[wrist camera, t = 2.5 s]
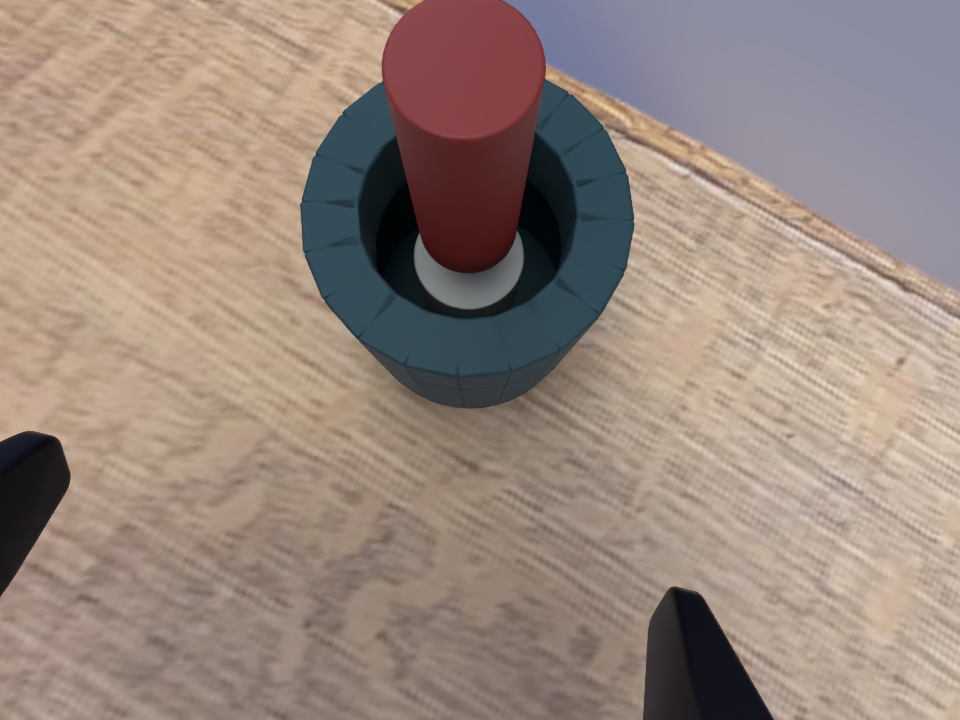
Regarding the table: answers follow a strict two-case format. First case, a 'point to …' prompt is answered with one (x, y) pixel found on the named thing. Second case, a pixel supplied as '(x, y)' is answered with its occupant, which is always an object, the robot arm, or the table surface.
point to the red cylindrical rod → (465, 144)
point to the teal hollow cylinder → (394, 230)
